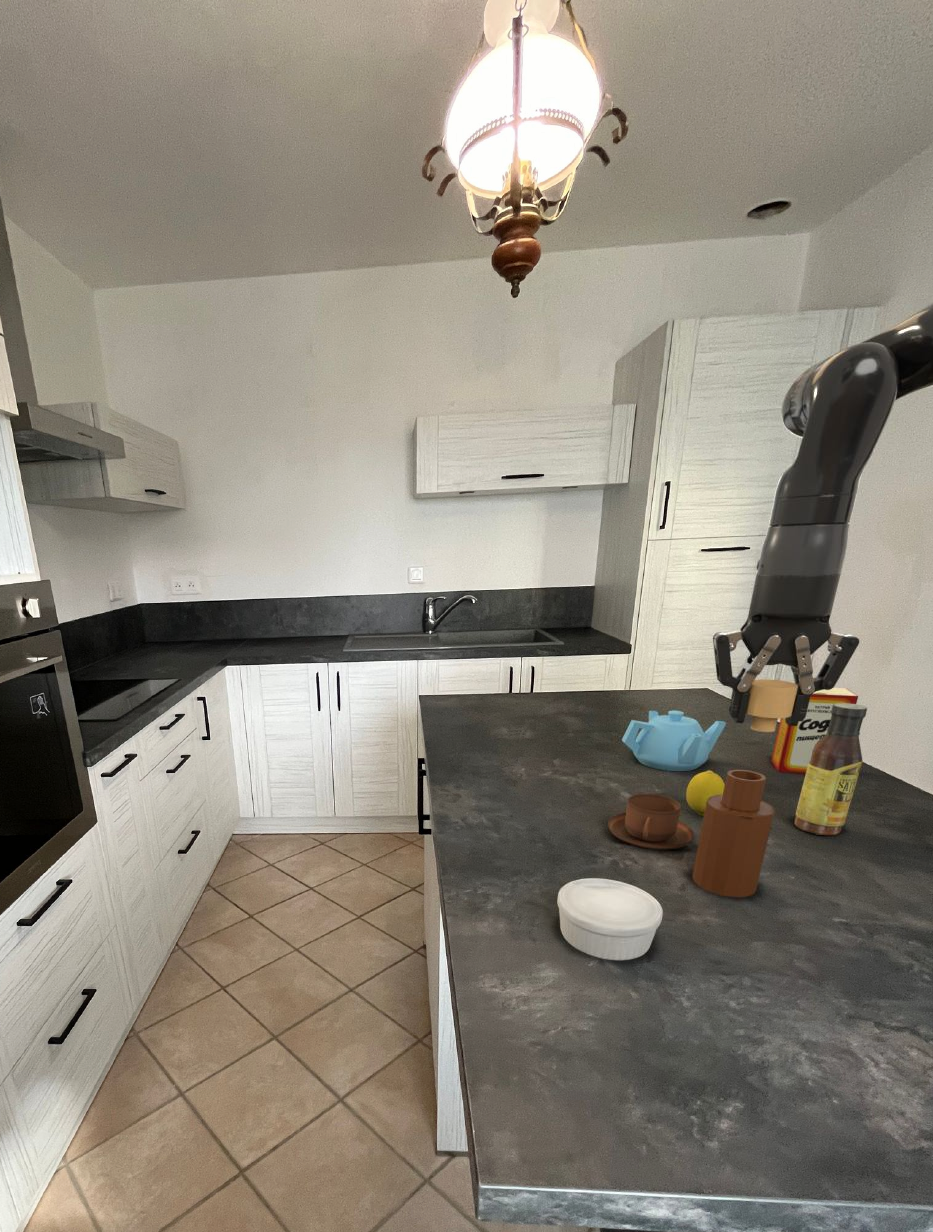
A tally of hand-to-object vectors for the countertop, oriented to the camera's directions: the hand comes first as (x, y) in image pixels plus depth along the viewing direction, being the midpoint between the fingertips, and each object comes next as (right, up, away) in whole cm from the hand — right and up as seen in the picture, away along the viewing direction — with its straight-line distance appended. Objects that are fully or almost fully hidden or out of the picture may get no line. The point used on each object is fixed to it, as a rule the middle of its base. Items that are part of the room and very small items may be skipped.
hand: (764, 722), depth 73 cm
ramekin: (-19, -26, 0) cm, 32 cm away
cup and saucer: (-2, -16, +23) cm, 29 cm away
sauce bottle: (+25, -15, +25) cm, 38 cm away
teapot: (+18, -3, +56) cm, 59 cm away
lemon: (+10, -13, +31) cm, 35 cm away
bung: (0, -1, 0) cm, 1 cm away
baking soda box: (+41, -4, +50) cm, 65 cm away
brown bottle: (+1, -21, +9) cm, 23 cm away
